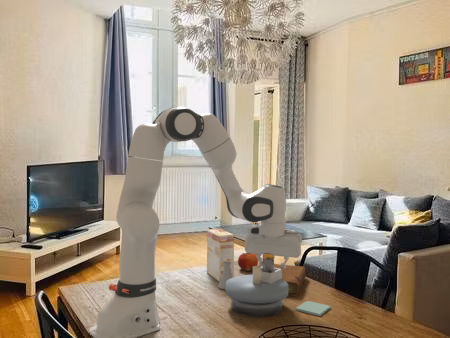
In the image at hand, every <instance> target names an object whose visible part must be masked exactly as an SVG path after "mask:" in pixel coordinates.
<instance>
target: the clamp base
mask: <svg viewBox="0 0 450 338" xmlns="http://www.w3.org/2000/svg"><path fill="white" fill-rule="evenodd" d="M230 303H231V304H230V306H231V307H230V308H231V309H232V311H233V312H235V313H237V314H239V315H242V316H245V317H246V316H247V317H254V318H255V317H256V318H260V317H261V318H263V317H264V318H265V317H271V316H274V315H277V314H279V313H280V312H282V310H283V300H280V301H277V302H272V303H247V302H241V301H238V300H234V299H232V298H230Z"/></svg>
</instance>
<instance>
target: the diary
mask: <svg viewBox="0 0 450 338" xmlns="http://www.w3.org/2000/svg"><path fill="white" fill-rule="evenodd" d="M261 267H262V266H261ZM274 268H279V269H282V268H281V263H280V264H278V263H274ZM305 279H306V268H305V266H300V265H290V264H286V268H285V269H282V280H284V281H286V282H287V283H288V296H293V297H294V296H296V297H297V296H299V293H300V291H301V288H302V287H303V284H304V282H305Z"/></svg>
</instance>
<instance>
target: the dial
mask: <svg viewBox="0 0 450 338" xmlns="http://www.w3.org/2000/svg"><path fill="white" fill-rule="evenodd" d="M225 294H226V296H227V297H229V298H230V299H231V298H232V299H234V300H238V301H241V302H247V303H272V302H277V301H280V300H282V301H283V300H285V299H286V298H288V296H289V295H288V283H287V282H286V281H284V280H282V269H279V268H274V272H271V273H268V272H263V266H262V267H261V266H259V265H257V266H253V270H252V274H242V275H236V276H234V277H233V278H230V279H229V280H227V281H226V290H225Z"/></svg>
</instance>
